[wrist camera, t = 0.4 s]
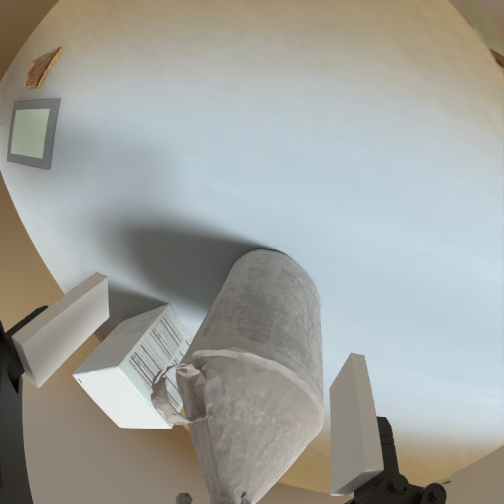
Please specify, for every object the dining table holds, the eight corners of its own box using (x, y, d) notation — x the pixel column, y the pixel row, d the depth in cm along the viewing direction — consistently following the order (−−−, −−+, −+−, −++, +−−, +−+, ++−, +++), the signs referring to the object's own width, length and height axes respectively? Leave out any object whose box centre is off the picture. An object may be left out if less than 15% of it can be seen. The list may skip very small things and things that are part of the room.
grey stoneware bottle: (275, 225, 39) (134, 585, 2) (336, 316, 42) (349, 593, 6) (207, 269, 43) (34, 510, 7) (270, 348, 47) (212, 584, 10)
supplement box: (157, 369, 54) (119, 429, 38) (121, 320, 51) (70, 374, 35) (207, 358, 50) (173, 430, 34) (169, 301, 47) (116, 365, 31)
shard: (65, 48, 34) (59, 46, 32) (59, 81, 36) (53, 80, 35) (35, 62, 35) (30, 61, 34) (30, 93, 38) (24, 93, 36)
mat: (17, 101, 38) (14, 101, 38) (60, 98, 37) (57, 98, 36) (9, 160, 44) (6, 161, 43) (50, 169, 42) (46, 169, 41)
